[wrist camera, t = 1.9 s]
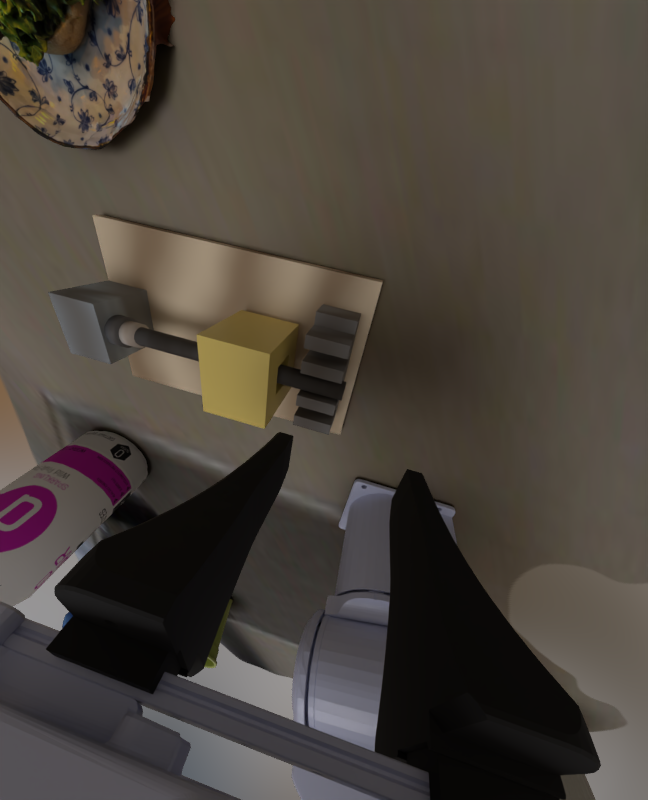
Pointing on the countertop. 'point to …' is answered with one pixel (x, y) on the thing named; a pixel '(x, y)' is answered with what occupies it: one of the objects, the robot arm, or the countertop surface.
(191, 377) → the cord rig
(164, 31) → the burger
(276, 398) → the sleeve
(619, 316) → the countertop surface
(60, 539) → the supplement can
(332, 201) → the countertop surface
